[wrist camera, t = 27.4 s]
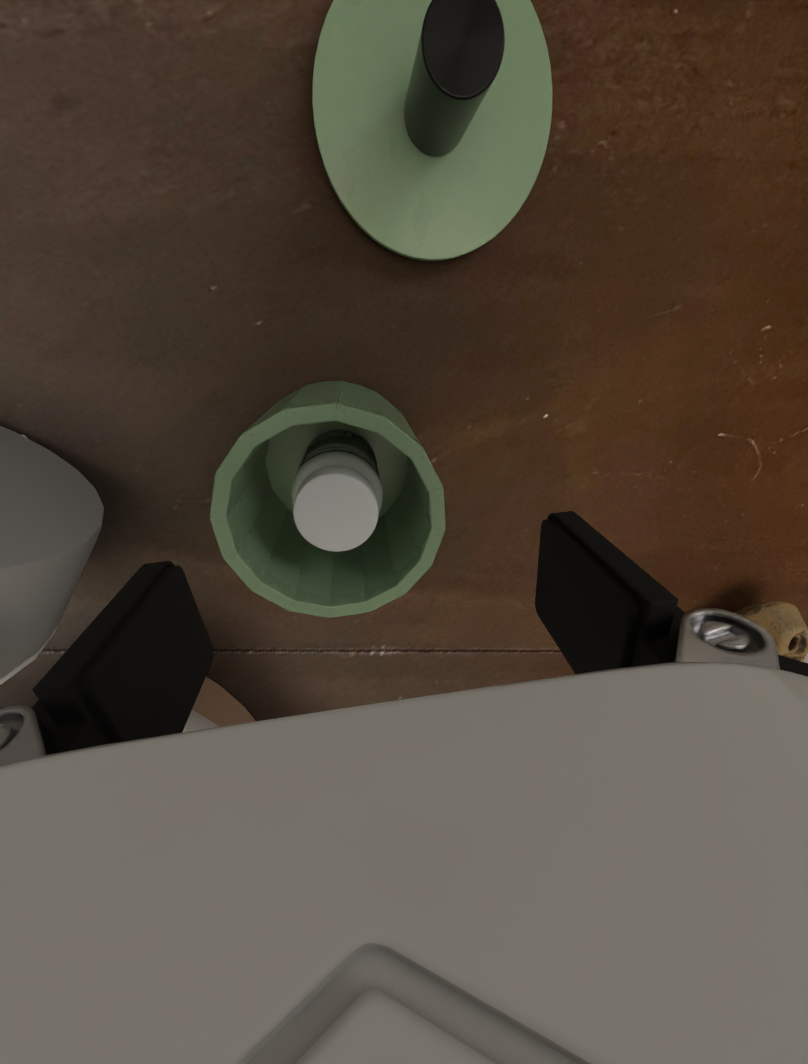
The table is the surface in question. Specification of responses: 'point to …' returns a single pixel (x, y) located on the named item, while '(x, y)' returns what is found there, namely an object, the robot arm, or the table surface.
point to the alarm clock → (39, 545)
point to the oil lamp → (781, 626)
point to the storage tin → (267, 511)
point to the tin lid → (432, 118)
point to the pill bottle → (337, 491)
